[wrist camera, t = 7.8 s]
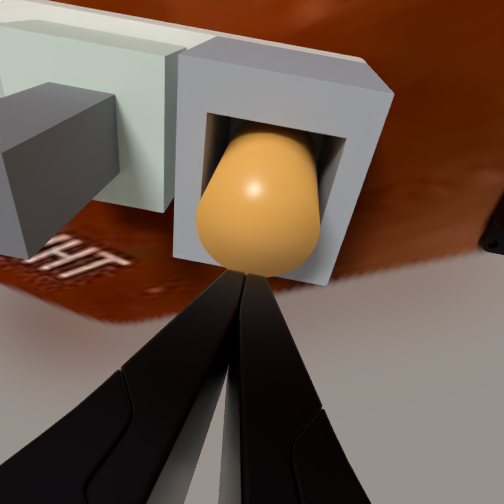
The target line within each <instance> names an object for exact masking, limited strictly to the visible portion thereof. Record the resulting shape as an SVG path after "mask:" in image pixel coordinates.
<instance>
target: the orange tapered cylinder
mask: <svg viewBox="0 0 504 504" xmlns="http://www.w3.org/2000/svg"><path fill="white" fill-rule="evenodd" d="M196 229H197V233H198V236H199V239H200V241H201V243H202V245H203V247H204V248H205V250H206V251H207V252H208V254H209V255H210V256H211V257H212V258H213V259H214V260H215V261H216V262H218V263H219V264H220V265H222V266H223V267H225V268H227V269H231V270H236V271H241V272H244V273H245V274H248V273H252V274H257V275H263V276H265V277H273V276H278V275H282V274H285V273H287V272H290V271H292V270H294V269H295V268H297V267H298V266H300V265H301V264H302V263H304V262H305V261H306V260H307V259H308V258H309V256H310V255H311V254H312V252H313V251H314V249H315V247H316V245H317V242H318V239H319V234H320V216H319V201H318V187H317V172H316V157H315V147H314V142H313V140H312V137H311V135H310V133H309V132H308V131H305V130H300V129H294V128H289V127H283V126H278V125H273V124H267V123H262V122H257V121H251V120H246V121H244V122H243V123H242V124H241V125H240V126H239V127H238V128H237V130H236V131H235V133H234V135H233V137H232V139H231V141H230V143H229V145H228V147H227V149H226V151H225V153H224V155H223V156H222V158H221V160H220V162H219V164H218V166H217V168H216V170H215V172H214V174H213V176H212V178H211V180H210V182H209V184H208V186H207V188H206V190H205V192H204V194H203V196H202V198H201V200H200V202H199V204H198V208H197V212H196Z"/></svg>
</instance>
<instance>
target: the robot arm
mask: <svg viewBox="0 0 504 504" xmlns="http://www.w3.org/2000/svg"><path fill="white" fill-rule="evenodd" d="M492 218H493V219H492V221H491V223H490V224H489V226H488V227H487V229H486V231H485V232H484V234H483V236H482V237H481V239H480V245H481V246H482V248H483V249H484V250H485V251H487V252H491V253H496V254H502V255H504V198H503V200H502V202H501V203H500V205H499V207H498V208H497V210H496V211H495V213H494V215H493V217H492ZM493 240H495V241H494V242H493V243H492V244H488V243H489V242H490V241H493ZM228 366H229V368H228ZM227 370H228V375H227V385H226V399H225V414H224V429H223V444H222V458H221V472H220V486H219V501H218V504H371V502H370V500H369V499H368V497H367V495H366V493H365V491H364V489H363V488H362V486H361V484H360V482H359V480H358V478H357V476H356V475H355V473H354V471H353V469H352V467H351V465H350V464H349V462H348V460H347V458H346V456H345V453H344V451H343V449H342V447H341V445H340V443H339V441H338V439H337V437H336V435H335V432H334V431H333V428H332V426H331V424H330V421H329V419H328V417H327V415H326V412H325V410H324V409H322V404H321V401H320V399H319V397H318V395H317V392H316V390H315V388H314V385H313V383H312V381H311V379H310V376H309V374H308V372H307V370H306V368H305V365H304V363H303V360H302V358H301V356H300V354H299V351H298V349H297V347H296V345H295V342H294V340H293V338H292V336H291V334H290V331H289V329H288V327H287V324H286V322H285V320H284V317H283V315H282V313H281V311H280V308H279V306H278V304H277V301H276V299H275V297H274V295H273V292H272V290H271V288H270V286H269V283H268V281H267V279H266V277H265V276H263V275H257V274H252V273H248V274H245V273H244V272H241V271H236V270H231V269H228V270H226V271H225V272H224V273H223V274H221V275H220V276H219V277H218V278H217V279H216V280H215V281H214V282H213V283H212V284H211V285H209V286H208V287H207V288H206V289H205V290H204V291H203V292H202V293H201V294H200V295H199V296H198V297H196V298H195V299H194V300H193V301H192V302H191V303H190V304H189V305H188V306H187V307H186V308H185V309H183V310H182V311H181V312H180V313H179V314H178V315H177V316H176V317H175V318H174V319H173V320H172V321H170V322H169V323H168V324H167V325H166V326H165V327H164V328H163V329H162V330H161V331H160V332H158V333H157V334H156V335H155V336H154V337H153V338H152V339H151V340H150V341H149V342H148V343H147V344H146V345H144V346H143V347H142V348H141V349H140V350H139V351H138V352H137V353H136V354H135V355H134V356H132V357H131V358H130V359H129V360H128V361H127V362H126V363H125V364H124V365H123V366H122V367H121V370H117V371H116V372H115V373H114V374H113V375H112V376H110V377H109V378H108V379H107V380H106V381H105V382H104V383H103V384H102V385H101V386H100V387H98V388H97V389H96V390H95V391H94V392H93V393H92V394H90V395H89V396H88V397H87V398H86V399H85V400H83V401H82V402H81V403H80V404H79V405H78V406H77V407H75V408H74V409H73V410H72V411H70V412H69V413H68V414H66V415H65V416H64V417H63V418H61V419H60V420H59V421H58V422H56V423H55V424H54V425H52V426H51V427H50V428H49V429H47V430H46V431H45V432H43V433H42V434H41V435H40V436H38V437H37V438H36V439H34V440H33V441H32V442H30V443H29V444H28V445H26V446H25V447H24V448H22V449H21V450H20V451H18V452H17V453H16V454H14V455H13V456H12V457H10V458H9V459H8V460H6V461H5V462H4V463H2V464H1V465H0V504H184V501H185V498H186V495H187V492H188V489H189V486H190V483H191V480H192V477H193V474H194V471H195V468H196V465H197V462H198V459H199V456H200V453H201V450H202V447H203V444H204V441H205V438H206V435H207V432H208V429H209V426H210V423H211V420H212V417H213V414H214V411H215V408H216V405H217V402H218V399H219V396H220V393H221V390H222V387H223V384H224V381H225V378H226V374H227Z"/></svg>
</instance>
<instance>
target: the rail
mask: <svg viewBox="0 0 504 504" xmlns="http://www.w3.org/2000/svg"><path fill="white" fill-rule="evenodd" d="M36 19H39V20H44V21H50V22H55V23H60V24H66V25H71V26H77V27H82V28H88V29H93V30H98V31H104V32H109V33H115V34H120V35H126V36H131V37H137V38H142V39H147V40H153V41H158V42H164V43H169V44H175V45H180V46H185V47H187V50H186V51H184V52H182V53H180V54H178V89H177V126H176V162H175V199H174V236H173V257H175V258H181V259H186V260H191V261H196V262H202V263H207V264H212V265H218V266H222V265H220V264H219V263H218V262H216V261H215V260H214V259H213V258H212V257H211V256H210V255H209V254H208V252H207V251H206V250H205V248H204V247H203V245H202V243H201V241H200V239H199V236H198V233H197V229H196V212H197V208H198V204H199V202H200V200H201V198H202V196H203V194H204V192H205V190H206V188H207V186H208V184H209V182H210V180H211V178H212V176H213V174H214V172H215V170H216V168H217V166H218V164H219V162H220V160H221V158H222V156H223V155H224V153H225V151H226V149H227V147H228V145H229V143H230V141H231V139H232V137H233V135H234V133H235V131H236V130H237V128H238V127H239V126H240V125H241V124H242V123H243V122H244V121H246V120H251V121H257V122H262V123H267V124H273V125H278V126H283V127H289V128H294V129H300V130H305V131H308V132H309V133H310V135H311V137H312V140H313V142H314V147H315V157H316V172H317V187H318V201H319V216H320V234H319V239H318V242H317V245H316V247H315V249H314V251H313V252H312V254H311V255H310V256H309V258H308V259H307V260H306V261H305V262H304V263H302V264H301V265H300V266H298V267H297V268H295V269H294V270H292V271H290V272H287V273H285V274H282V275H278V276H275V277H281V278H286V279H291V280H296V281H302V282H307V283H312V284H317V285H323V286H327V284H328V282H329V279H330V276H331V273H332V270H333V267H334V264H335V262H336V259H337V256H338V253H339V250H340V247H341V245H342V242H343V239H344V236H345V233H346V230H347V228H348V225H349V222H350V219H351V216H352V213H353V211H354V208H355V205H356V202H357V199H358V196H359V193H360V191H361V188H362V185H363V182H364V179H365V176H366V174H367V171H368V168H369V165H370V162H371V159H372V157H373V154H374V151H375V148H376V145H377V142H378V139H379V137H380V134H381V131H382V128H383V125H384V122H385V120H386V117H387V114H388V111H389V108H390V105H391V103H392V100H393V97H394V93H393V92H392V91H391V89H390V88H389V87H388V86H387V85H386V84H385V83H384V82H383V81H382V80H381V78H380V77H379V76H378V75H377V74H376V73H375V72H374V71H373V70H372V69H371V67H370V66H369V65H368V64H367V63H366V62H365V61H364V60H363V59H362V58H359V57H353V56H348V55H342V54H337V53H331V52H326V51H320V50H315V49H310V48H304V47H299V46H293V45H288V44H282V43H277V42H271V41H266V40H260V39H255V38H250V37H244V36H239V35H233V34H228V33H222V32H217V31H211V30H206V29H200V28H195V27H190V26H184V25H179V24H173V23H168V22H162V21H157V20H151V19H146V18H140V17H135V16H129V15H124V14H119V13H113V12H108V11H102V10H97V9H91V8H86V7H80V6H75V5H69V4H64V3H59V2H53V1H48V0H0V23H3V22H14V21H25V20H36ZM3 97H5V95H4V91H3V86H2V82H1V78H0V98H3Z"/></svg>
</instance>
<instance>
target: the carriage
mask: <svg viewBox="0 0 504 504" xmlns="http://www.w3.org/2000/svg"><path fill="white" fill-rule="evenodd" d="M186 50H187V47H185V46H180V45H175V44H169V43H164V42H158V41H153V40H147V39H142V38H137V37H131V36H126V35H120V34H115V33H109V32H104V31H98V30H93V29H88V28H82V27H77V26H71V25H66V24H60V23H55V22H50V21H44V20H39V19H36V20H25V21H14V22H3V23H0V78H1V82H2V86H3V91H4V95H5V97H3V98H0V254H1V255H6V256H11V257H17V258H22V259H27V260H29V259H30V258H32V257H33V256H34V255H35V254H36V253H37V252H38V251H39V250H40V249H41V248H42V247H43V246H44V245H45V244H46V243H47V242H48V241H49V240H50V239H51V238H52V237H53V236H54V235H55V234H56V233H58V232H59V231H60V230H61V229H62V228H63V227H64V226H65V225H66V224H67V223H68V222H69V221H70V220H71V219H72V218H73V217H74V216H75V215H76V214H77V213H78V212H79V211H80V210H81V209H83V208H84V207H85V206H86V205H87V204H88V203H89V202H90V201H91V200H97V201H103V202H108V203H113V204H118V205H124V206H129V207H134V208H140V209H145V210H150V211H156V212H161V213H164V212H165V210H166V209H167V207H168V205H169V204H170V202H171V201H172V199H173V198H174V196H175V162H176V126H177V89H178V54H180V53H182V52H184V51H186Z"/></svg>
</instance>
